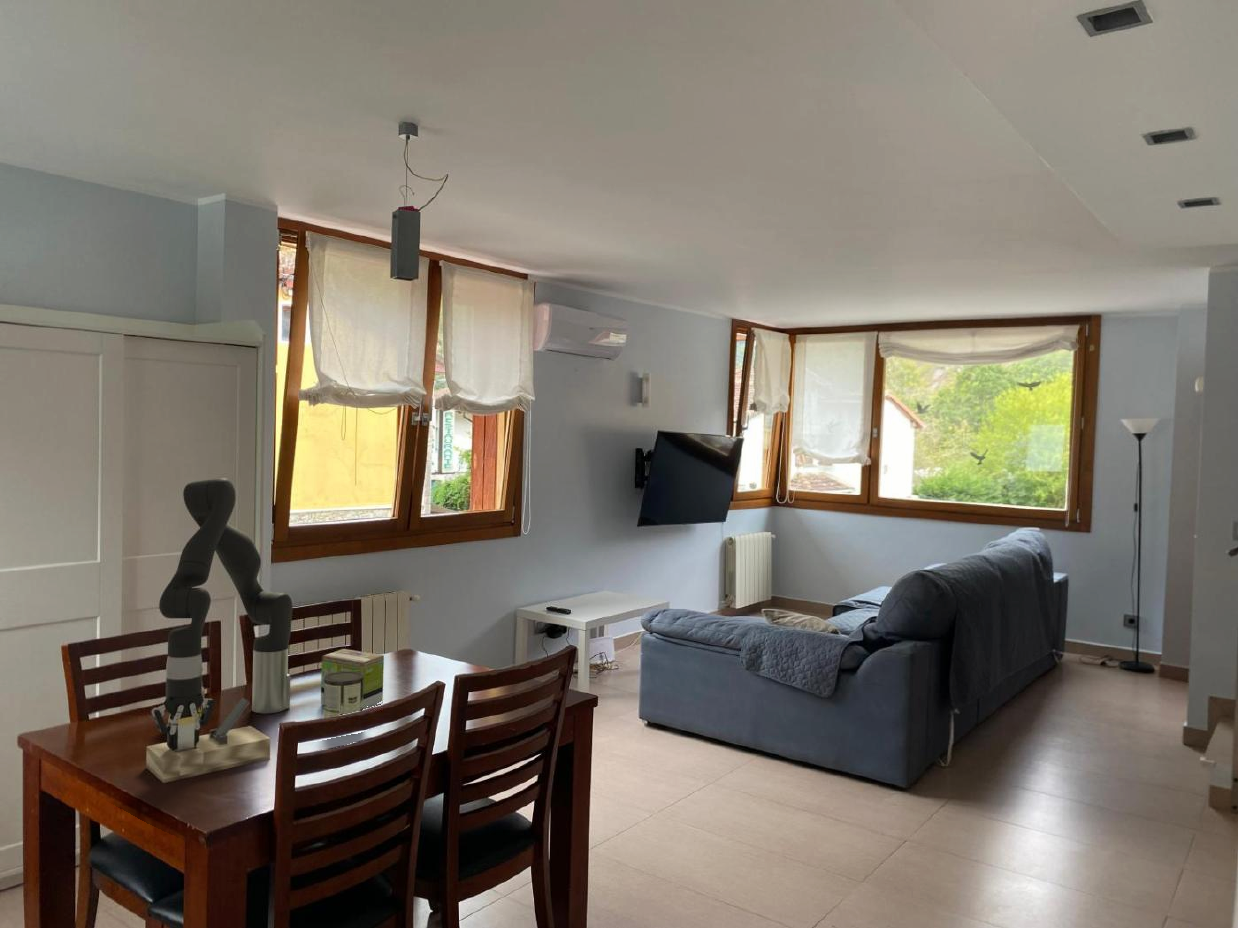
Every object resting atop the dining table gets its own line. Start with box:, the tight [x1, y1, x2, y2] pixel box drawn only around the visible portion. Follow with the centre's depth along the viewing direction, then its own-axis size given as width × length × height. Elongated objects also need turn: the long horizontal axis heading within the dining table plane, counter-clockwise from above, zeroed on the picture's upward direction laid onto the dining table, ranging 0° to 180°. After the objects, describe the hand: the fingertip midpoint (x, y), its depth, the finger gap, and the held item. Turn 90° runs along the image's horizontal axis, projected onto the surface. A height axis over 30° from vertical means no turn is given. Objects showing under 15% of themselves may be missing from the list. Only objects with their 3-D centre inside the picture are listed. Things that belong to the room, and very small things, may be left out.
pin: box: [172, 716, 195, 753], centre depth 210 cm, size 4×4×12 cm
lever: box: [212, 697, 251, 741], centre depth 217 cm, size 11×4×1 cm
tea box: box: [320, 648, 385, 709], centre depth 263 cm, size 15×10×15 cm, turn 68°
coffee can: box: [323, 672, 364, 719], centre depth 242 cm, size 10×10×14 cm
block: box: [145, 725, 271, 784], centre depth 214 cm, size 24×12×7 cm, turn 134°
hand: (183, 746), depth 210 cm, fingers open, 4 cm apart
